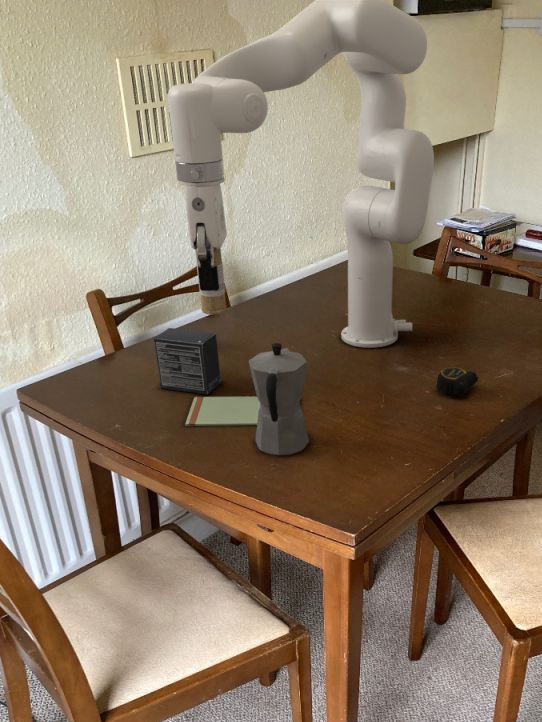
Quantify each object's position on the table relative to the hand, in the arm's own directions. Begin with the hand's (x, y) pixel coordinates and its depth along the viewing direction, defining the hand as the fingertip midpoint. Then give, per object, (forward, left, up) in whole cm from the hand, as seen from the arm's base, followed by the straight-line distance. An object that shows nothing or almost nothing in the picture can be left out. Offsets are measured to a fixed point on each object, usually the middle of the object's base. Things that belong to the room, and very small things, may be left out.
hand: (211, 284), depth 133 cm
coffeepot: (-12, +17, -23) cm, 31 cm away
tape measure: (-45, -3, -23) cm, 50 cm away
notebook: (-4, +4, -22) cm, 23 cm away
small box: (+7, -7, -23) cm, 25 cm away
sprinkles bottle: (0, 0, -5) cm, 5 cm away
